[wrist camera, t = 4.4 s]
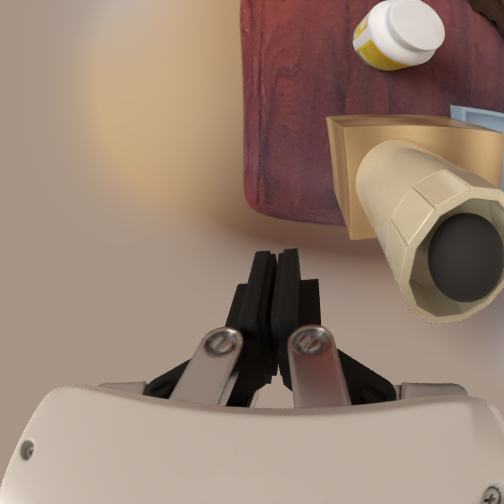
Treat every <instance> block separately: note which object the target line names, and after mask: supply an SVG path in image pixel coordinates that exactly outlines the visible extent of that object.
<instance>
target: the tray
mask: <svg viewBox="0 0 504 504" xmlns="http://www.w3.org/2000/svg"><path fill="white" fill-rule="evenodd" d="M450 110H451V118H454V119H458V120H461V121H465V122H469V123H472V124H476V125H479V126H483V127H486V128H489V129H492V130H495V131H498V132H501V133H503V134H504V113H501V112H496V111H490V110H485V109H478V108H472V107H464V106H456V105H450ZM501 190H502V191H503V192H504V150H503V169H502V181H501Z"/></svg>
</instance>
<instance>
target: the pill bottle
mask: <svg viewBox="0 0 504 504" xmlns="http://www.w3.org/2000/svg"><path fill="white" fill-rule="evenodd" d="M444 36H445V31H444V26H443V23H442V21H441V19H440V18H439V16H438V15H437V13H436V12H435V11H434V10H433V9H432V8H431V7H430V6H428V5H427V4H425V3H424V2H422V1H420V0H388V1H383V2H381V3H379V4H377V5H376V6H375V7H374V8H373V9H372V10H371V11H370V12H369V13H368V14H367V15H366V17H365V18H364V19H363V20H362V21H361V22H360V24H359V25H358V26H357V27H356V29H355V31H354V34H353V45H354V49H355V51H356V53H357V54H358V56H359V57H360V58H361V60H362V61H363V62H365V63H366V64H367V65H369V66H370V67H372V68H374V69H377V70H381V71H393V70H397V69H401V68H405V67H410V66H414V65H419V64H422V63H424V62H426V61H428V60H429V59H430V58H431V57H432V56H433V54H434V53H435V50H436V49H437V48H438V47H440V46H441V44H442V43H443V41H444Z"/></svg>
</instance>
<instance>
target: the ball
mask: <svg viewBox="0 0 504 504" xmlns="http://www.w3.org/2000/svg"><path fill="white" fill-rule="evenodd" d="M428 266H429V271H430V274H431V277H432V279H433V281H434V283H435V285H436V286H437V288H438V289H439V290H440V291H441V292H442V293H443V294H444V295H445V296H447V297H448V298H450V299H452V300H455V301H458V302H474V301H477V300H480V299H482V298H484V297H485V296H487V295H488V294H489V293H490V292H491V291H492V290H493V289H494V288H495V286H496V285H497V284H498V282H499V280H500V278H501V276H502V273H503V269H504V246H503V242H502V239H501V237H500V235H499V233H498V231H497V230H496V228H495V227H494V226H493V225H492V224H491V223H490V222H489V221H488V220H487V219H485V218H484V217H482V216H479V215H477V214H473V213H460V214H456V215H454V216H451V217H450V218H448V219H446V220H445V221H444V222H443V223H442V224H441V225H440V226H439V227H438V228H437V230H436V231H435V233H434V235H433V237H432V239H431V242H430V245H429V250H428Z"/></svg>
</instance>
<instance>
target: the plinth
mask: <svg viewBox="0 0 504 504" xmlns="http://www.w3.org/2000/svg"><path fill="white" fill-rule="evenodd" d="M326 120H327V127H328V135H329V143H330V152H331V161H332V171H333V182H334V192H335V195H336V197H337V200H338V203H339V206H340V209H341V211H342V214H343V217H344V220H345V223H346V226H347V229H348V232H349V235H350V238H351V240H356V239H369V238H377V237H376V235H375V233H374V231H373V229H372V227H371V225H370V223H369V221H368V219H367V217H366V215H365V213H364V211H363V209H362V207H361V205H360V203H359V201H358V198H357V194H356V175H357V171H358V168H359V166H360V164H361V162H362V160H363V158H364V157H365V155H366V154H367V153H368V152H369V151H370V150H371V149H372V148H374V147H375V146H377V145H378V144H380V143H382V142H384V141H388V140H393V139H403V140H408V141H411V142H414V143H416V144H418V145H420V146H422V147H424V148H426V149H428V150H430V151H432V152H434V153H436V154H438V155H440V156H442V157H444V158H445V159H447V160H449V161H451V162H453V163H454V164H456V165H458V166H460V167H461V168H463V169H465V170H467V171H469V172H473V173H475V174H477V175H479V176H480V177H482V178H484V179H485V180H487V181H488V182H490V183H491V184H493V185H495V186H496V187H498V188H499V189H501V181H502V169H503V150H504V134H503V133H501V132H498V131H495V130H492V129H489V128H486V127H483V126H479V125H476V124H472V123H469V122H465V121H461V120H458V119H454V118H450V117H445V116H434V115H413V114H363V115H341V116H327V117H326Z"/></svg>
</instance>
